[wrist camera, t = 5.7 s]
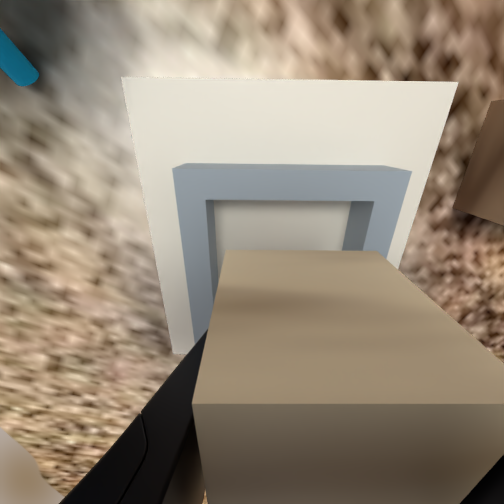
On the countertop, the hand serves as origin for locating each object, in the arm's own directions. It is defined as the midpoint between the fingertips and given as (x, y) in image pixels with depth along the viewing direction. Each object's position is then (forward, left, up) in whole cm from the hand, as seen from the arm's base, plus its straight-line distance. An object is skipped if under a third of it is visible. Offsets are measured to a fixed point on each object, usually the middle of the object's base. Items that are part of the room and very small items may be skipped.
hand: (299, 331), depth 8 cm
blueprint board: (0, 0, -7) cm, 7 cm away
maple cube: (0, 0, -1) cm, 1 cm away
